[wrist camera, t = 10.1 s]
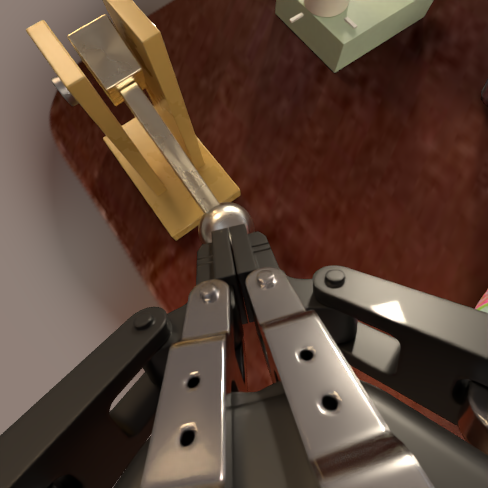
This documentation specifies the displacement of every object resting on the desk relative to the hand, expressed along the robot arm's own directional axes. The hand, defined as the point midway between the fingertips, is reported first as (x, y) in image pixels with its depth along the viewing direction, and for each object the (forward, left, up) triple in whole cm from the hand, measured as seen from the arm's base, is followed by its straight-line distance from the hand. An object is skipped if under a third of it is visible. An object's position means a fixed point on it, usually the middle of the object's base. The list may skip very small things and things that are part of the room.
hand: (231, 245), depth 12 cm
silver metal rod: (-5, +6, -4) cm, 9 cm away
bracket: (-8, +8, -11) cm, 16 cm away
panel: (+5, +29, -11) cm, 31 cm away
